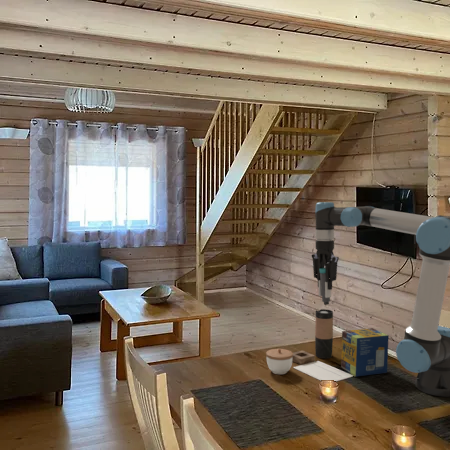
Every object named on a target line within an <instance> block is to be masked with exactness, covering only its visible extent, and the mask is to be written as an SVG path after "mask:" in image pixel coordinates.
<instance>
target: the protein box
mask: <svg viewBox="0 0 450 450" xmlns="http://www.w3.org/2000/svg"><path fill="white" fill-rule="evenodd" d="M388 354H389V335H388V334H386V333H383V332H382V331H380V330H377V329H375V328H361V329H350V330H342V332H341V358H340V361H341V363H340V368H341V369H342V370H344V371H345V372H346V373H349V374H351V375H353V376H354V377H362V376H371V375H377V374H386V373H388V363H389V362H388V359H389V358H388V357H389V355H388Z"/></svg>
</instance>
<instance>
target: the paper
mask: <svg viewBox="0 0 450 450" xmlns="http://www.w3.org/2000/svg"><path fill="white" fill-rule="evenodd" d="M293 369H294V370H297V371H299V372H301V373H303V374H306V375H308V376H310V377H311V378H314V379H316V380H318V381H320V382H322V381H321V380H334V381H336V382H335V383H337V382H339V381H343V380H346V379H350V378H353V376H354V375H352V374H350V373H349V372H347V371H345V370H344V371H343V370H341V369H338V368H336V367H334V366H333V365H332V366H331V365H329V364H327V363H325V362H322V361H319V360H317V361H316V360H315V361H314V362H310V363H306V364H302V365H300V364H299V365H296V366H293Z"/></svg>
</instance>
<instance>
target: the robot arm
mask: <svg viewBox="0 0 450 450" xmlns="http://www.w3.org/2000/svg"><path fill="white" fill-rule="evenodd" d="M314 214H315V233H314V235H315V239H316V240H315V250H316V253H314V254H311V259H312V267H313V278H314V279H316V281H317V288H318V297H322V291H321V279H320V271H319V269H320V268H325V269H326V279H327V281H326V282H325V298H328V297H330V298H332V290H333V282H334V281H337V277H338V276H337V274H338V262H339V257H338V256H336V255H334V250H335V241H334V239H335V227H346V228H351V227H352V228H354V227H355V228H356V227H358V226H367V227H373V228H374V227H375V228H379V229H383V230H384V229H385V230H389V231H394V232H399V233H404V234H410V235H415V241H416V243H417V244H418V247H419V252H418V255H419V256H420V257H421V259H422V262H421V268H420V274H419V279H418V282H417V283H418V284H417V288H416V289H417V290H416V296H415V302H414V307H413V312H412V317H411V322H410V324H409V325H408V326H407V327H405V331H404V335H403V339H402V340H401V341H399V342H398V343H397V345H396V349H395V355H396V358H397V360H398V361H399V363H400V365H401V366H402V367H403V368H404V369H405V370H407V371H409V372H411V373H417V374H416V378H415V387H416V388H417V390H419V391H420V392H422V393H425V394H426V395H430V396H431V395H432V396H437V397H446V398H447V397H450V328H449V327H447V326H441V325H439V324H440V319H441V315H442V308H443V303H444V298H445V294H446V287H447V283H448V282H447V281H448V277H449V271H450V215H449V216H448V215H437V216H434V217H433V216H428V215H422V214H415V213H411V212H410V213H409V212H403V211H396V210H389V209H384V208H377V207H374V206H371V205H365V206H340V207H339V206H335V203H334V202H332V201H330V202H329V201H326V202H325V201H324V202H323V201H322V202H321V201H319V202H316V204H315V212H314Z"/></svg>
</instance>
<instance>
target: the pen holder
mask: <svg viewBox="0 0 450 450" xmlns="http://www.w3.org/2000/svg"><path fill="white" fill-rule="evenodd" d="M292 353H293V361H292V363H293V362H294V363H295V364H298V365H299V366H300V365H304V364H308V363H312V362H316V354H313V353H310V352H307V351H305V350H299V351H293V352H292Z"/></svg>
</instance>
